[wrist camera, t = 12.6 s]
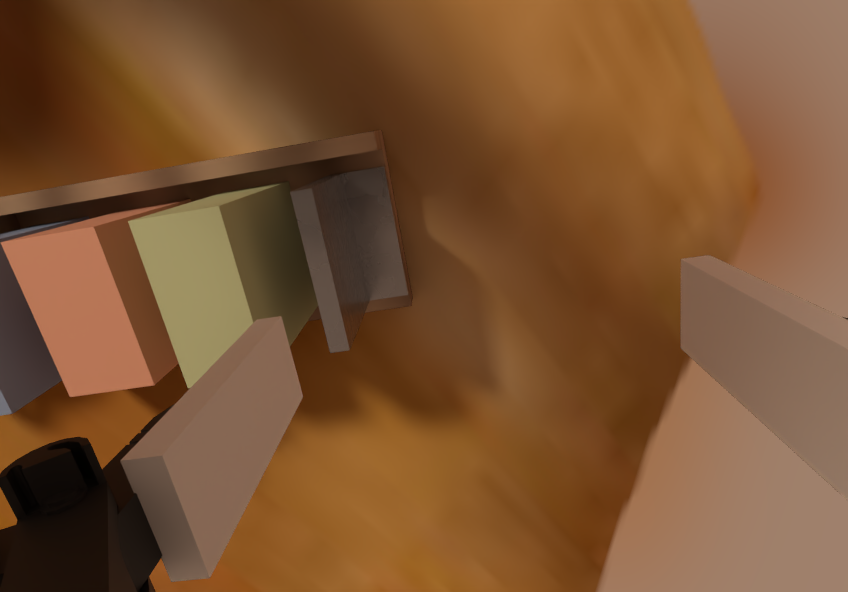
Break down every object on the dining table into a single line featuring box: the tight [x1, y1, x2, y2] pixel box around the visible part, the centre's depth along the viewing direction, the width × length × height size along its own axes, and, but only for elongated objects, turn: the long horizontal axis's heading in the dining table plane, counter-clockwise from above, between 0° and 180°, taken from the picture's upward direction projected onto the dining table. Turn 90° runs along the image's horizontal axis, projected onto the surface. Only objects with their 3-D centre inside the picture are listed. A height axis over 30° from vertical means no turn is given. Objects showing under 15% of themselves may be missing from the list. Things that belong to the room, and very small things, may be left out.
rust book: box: [0, 199, 191, 397], centre depth 27 cm, size 4×8×9 cm, turn 10°
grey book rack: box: [0, 130, 413, 321], centre depth 27 cm, size 25×11×13 cm, turn 99°
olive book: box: [128, 181, 318, 388], centre depth 26 cm, size 4×8×10 cm, turn 9°
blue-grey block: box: [0, 216, 89, 415], centre depth 28 cm, size 4×8×10 cm, turn 9°
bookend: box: [290, 166, 409, 353], centre depth 27 cm, size 4×8×8 cm, turn 9°
